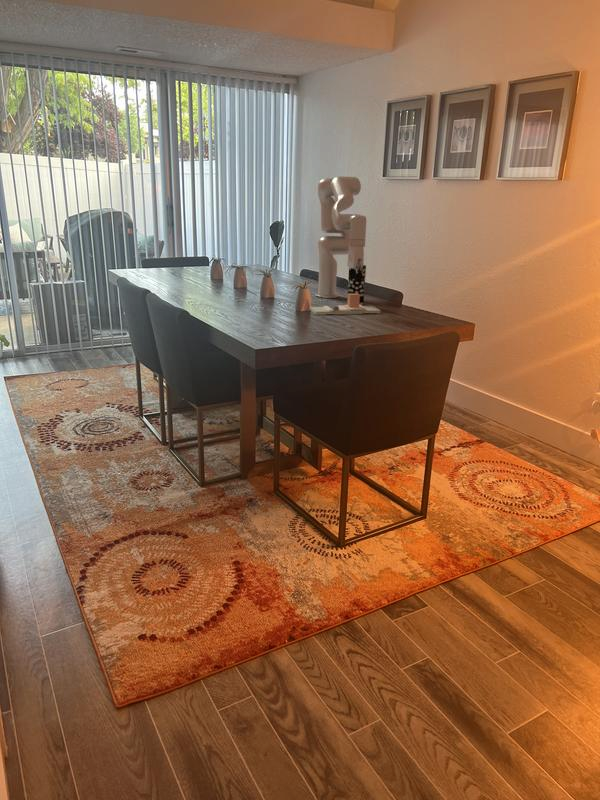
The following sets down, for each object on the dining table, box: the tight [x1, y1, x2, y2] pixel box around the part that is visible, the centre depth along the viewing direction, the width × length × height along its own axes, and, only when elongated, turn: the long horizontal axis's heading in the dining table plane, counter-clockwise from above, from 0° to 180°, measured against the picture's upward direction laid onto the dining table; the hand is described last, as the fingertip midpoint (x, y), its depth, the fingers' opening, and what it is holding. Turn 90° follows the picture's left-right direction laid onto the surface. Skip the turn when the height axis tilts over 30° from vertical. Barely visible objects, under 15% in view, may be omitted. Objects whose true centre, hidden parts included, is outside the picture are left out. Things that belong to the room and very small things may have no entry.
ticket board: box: [309, 301, 382, 316], centre depth 287 cm, size 12×32×4 cm, turn 104°
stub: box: [343, 293, 367, 310], centre depth 287 cm, size 10×8×7 cm
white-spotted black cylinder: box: [346, 264, 367, 306], centre depth 299 cm, size 8×8×20 cm
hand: (355, 280), depth 283 cm, fingers open, 9 cm apart
